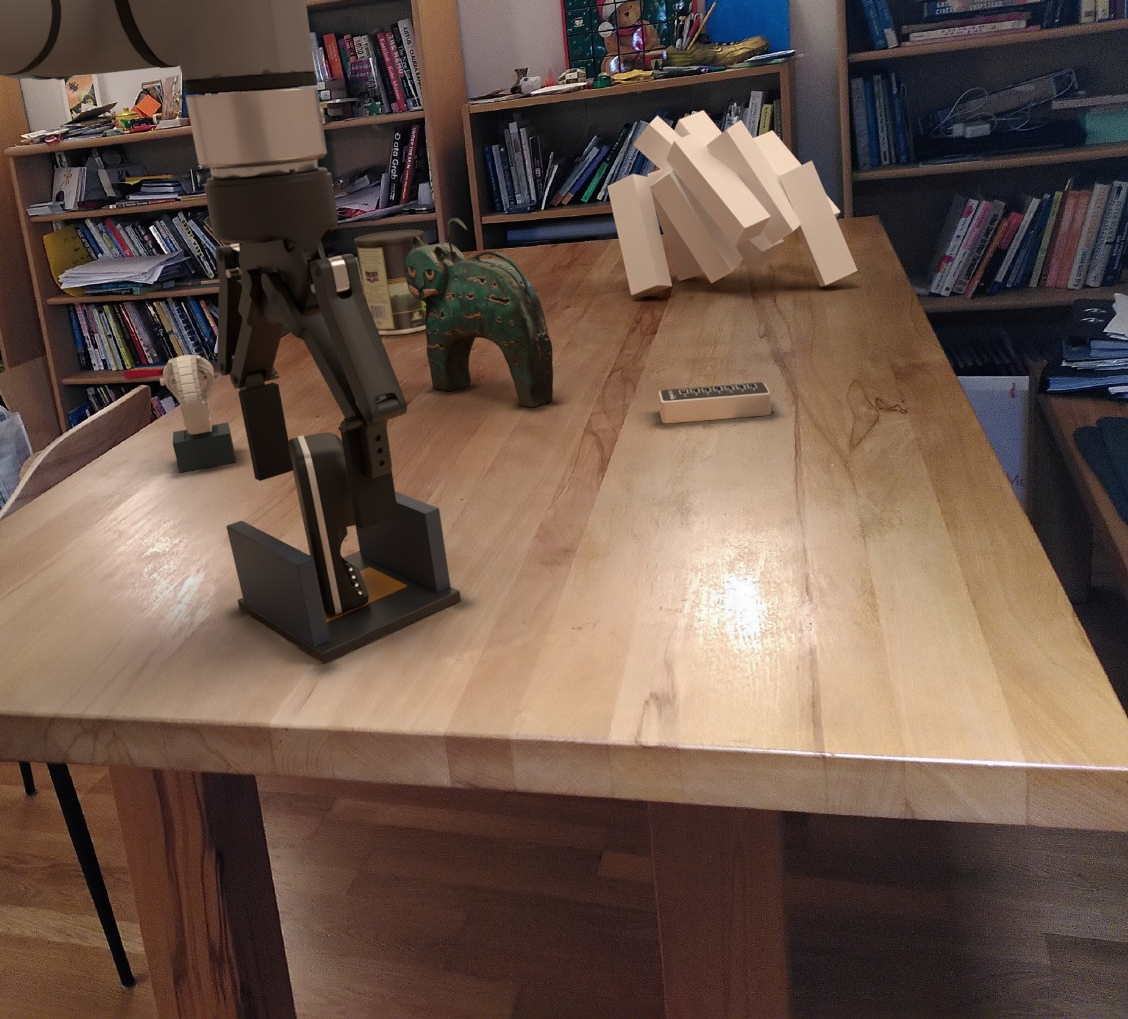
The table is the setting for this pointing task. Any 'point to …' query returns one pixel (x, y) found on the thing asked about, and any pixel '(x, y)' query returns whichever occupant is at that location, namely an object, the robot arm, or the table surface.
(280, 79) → the robot arm
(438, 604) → the cradle
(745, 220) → the pile of blocks
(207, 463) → the watch
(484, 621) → the table surface
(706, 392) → the multiport hub
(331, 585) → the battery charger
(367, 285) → the coffee can
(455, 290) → the ceramic cat
